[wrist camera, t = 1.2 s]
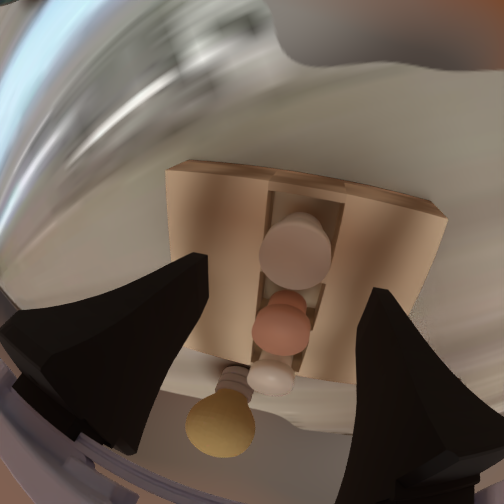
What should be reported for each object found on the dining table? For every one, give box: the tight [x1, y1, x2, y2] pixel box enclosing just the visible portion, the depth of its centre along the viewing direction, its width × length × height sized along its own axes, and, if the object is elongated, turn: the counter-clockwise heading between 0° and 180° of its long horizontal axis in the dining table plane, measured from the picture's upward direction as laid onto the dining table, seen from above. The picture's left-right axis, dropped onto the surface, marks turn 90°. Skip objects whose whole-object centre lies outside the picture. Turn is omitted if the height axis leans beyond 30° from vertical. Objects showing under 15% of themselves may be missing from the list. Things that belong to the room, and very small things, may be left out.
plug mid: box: [252, 290, 311, 356], centre depth 16 cm, size 3×3×3 cm
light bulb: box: [186, 366, 255, 458], centre depth 23 cm, size 6×6×10 cm
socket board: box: [165, 160, 448, 384], centre depth 18 cm, size 16×15×3 cm
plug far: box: [247, 349, 295, 396], centre depth 18 cm, size 3×3×3 cm
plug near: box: [259, 212, 331, 290], centre depth 13 cm, size 3×3×3 cm
